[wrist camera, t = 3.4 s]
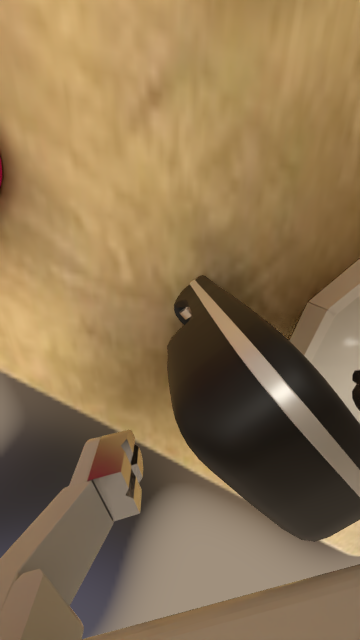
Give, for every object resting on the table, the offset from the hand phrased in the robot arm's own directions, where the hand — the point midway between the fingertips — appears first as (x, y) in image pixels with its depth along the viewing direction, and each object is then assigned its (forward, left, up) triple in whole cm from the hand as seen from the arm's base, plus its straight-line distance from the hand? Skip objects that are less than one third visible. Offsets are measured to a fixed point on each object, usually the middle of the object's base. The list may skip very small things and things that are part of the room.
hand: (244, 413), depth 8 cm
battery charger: (-1, 0, -9) cm, 9 cm away
